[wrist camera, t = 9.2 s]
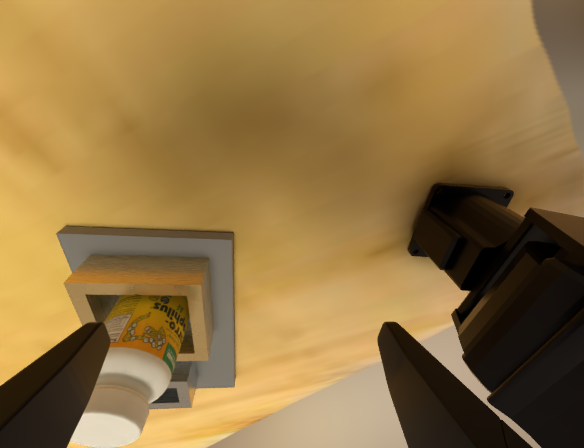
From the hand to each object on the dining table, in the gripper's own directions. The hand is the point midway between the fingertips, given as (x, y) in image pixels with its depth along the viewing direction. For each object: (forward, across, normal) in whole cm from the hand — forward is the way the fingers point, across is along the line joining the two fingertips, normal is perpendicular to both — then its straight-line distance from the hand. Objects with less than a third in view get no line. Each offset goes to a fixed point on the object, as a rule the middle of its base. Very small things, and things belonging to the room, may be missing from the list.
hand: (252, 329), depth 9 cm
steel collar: (+12, +8, +19) cm, 24 cm away
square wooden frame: (+12, +8, +10) cm, 17 cm away
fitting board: (+12, +8, +14) cm, 20 cm away
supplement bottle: (+11, +8, +10) cm, 17 cm away
